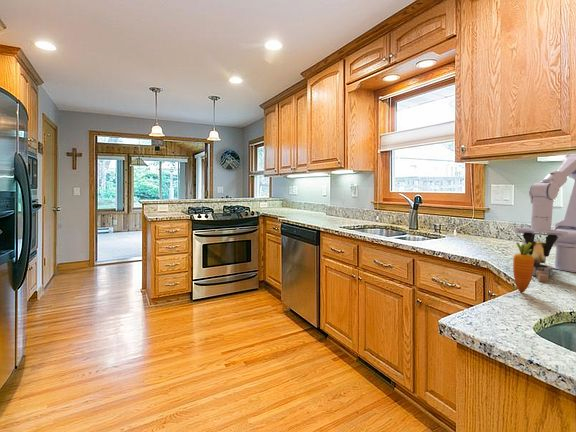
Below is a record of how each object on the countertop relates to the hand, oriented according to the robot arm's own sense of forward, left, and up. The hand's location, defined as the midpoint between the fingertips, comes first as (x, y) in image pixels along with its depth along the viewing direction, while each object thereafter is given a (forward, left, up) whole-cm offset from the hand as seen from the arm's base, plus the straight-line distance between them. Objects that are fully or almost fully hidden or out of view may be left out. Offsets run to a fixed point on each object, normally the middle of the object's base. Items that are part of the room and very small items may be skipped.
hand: (538, 255), depth 116 cm
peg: (0, 0, -2) cm, 2 cm away
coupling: (+3, -1, -7) cm, 8 cm away
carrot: (+29, +8, -7) cm, 31 cm away
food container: (-8, -6, -7) cm, 12 cm away
